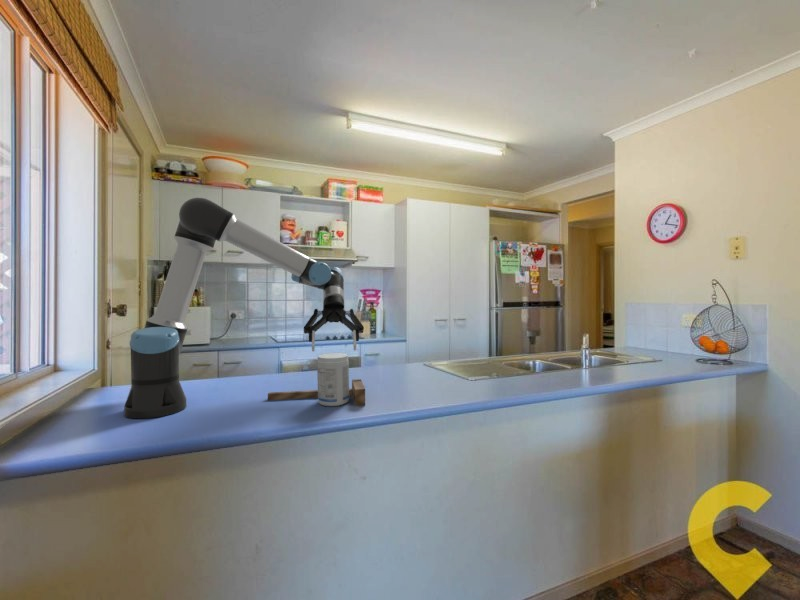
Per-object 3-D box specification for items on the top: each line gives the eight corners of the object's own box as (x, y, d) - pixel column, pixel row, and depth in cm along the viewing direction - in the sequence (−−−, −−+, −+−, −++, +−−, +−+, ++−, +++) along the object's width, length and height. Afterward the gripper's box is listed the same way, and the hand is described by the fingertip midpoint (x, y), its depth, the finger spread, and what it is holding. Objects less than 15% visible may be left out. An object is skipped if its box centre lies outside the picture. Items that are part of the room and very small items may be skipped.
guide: (262, 411, 110) (262, 394, 109) (268, 398, 122) (268, 383, 122) (366, 405, 115) (366, 388, 115) (362, 393, 128) (362, 379, 128)
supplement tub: (339, 396, 125) (339, 351, 125) (355, 403, 118) (354, 355, 117) (312, 401, 119) (311, 354, 119) (326, 409, 112) (326, 359, 111)
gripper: (367, 308, 145) (371, 354, 131) (299, 308, 141) (295, 355, 127) (368, 294, 140) (372, 340, 126) (298, 293, 135) (294, 342, 121)
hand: (334, 348), depth 126 cm, fingers open, 13 cm apart
